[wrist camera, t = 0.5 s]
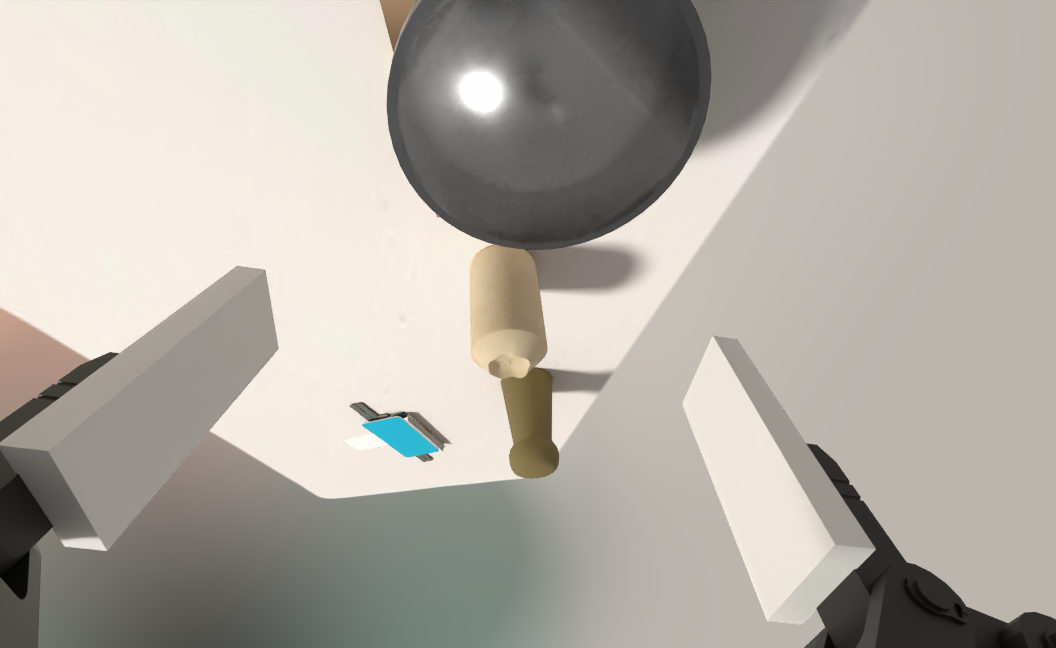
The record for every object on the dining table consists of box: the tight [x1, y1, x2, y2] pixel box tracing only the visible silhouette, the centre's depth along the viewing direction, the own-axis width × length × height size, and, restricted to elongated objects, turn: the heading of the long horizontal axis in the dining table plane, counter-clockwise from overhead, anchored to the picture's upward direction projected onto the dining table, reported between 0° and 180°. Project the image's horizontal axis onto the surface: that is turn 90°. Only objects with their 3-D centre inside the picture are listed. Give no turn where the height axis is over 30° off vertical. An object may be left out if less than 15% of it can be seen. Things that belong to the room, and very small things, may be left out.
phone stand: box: [344, 403, 445, 462], centre depth 61 cm, size 20×12×2 cm, turn 15°
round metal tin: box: [387, 0, 711, 250], centre depth 21 cm, size 13×13×8 cm
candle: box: [470, 245, 547, 379], centre depth 35 cm, size 6×6×10 cm
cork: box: [501, 368, 559, 478], centre depth 49 cm, size 6×6×11 cm
